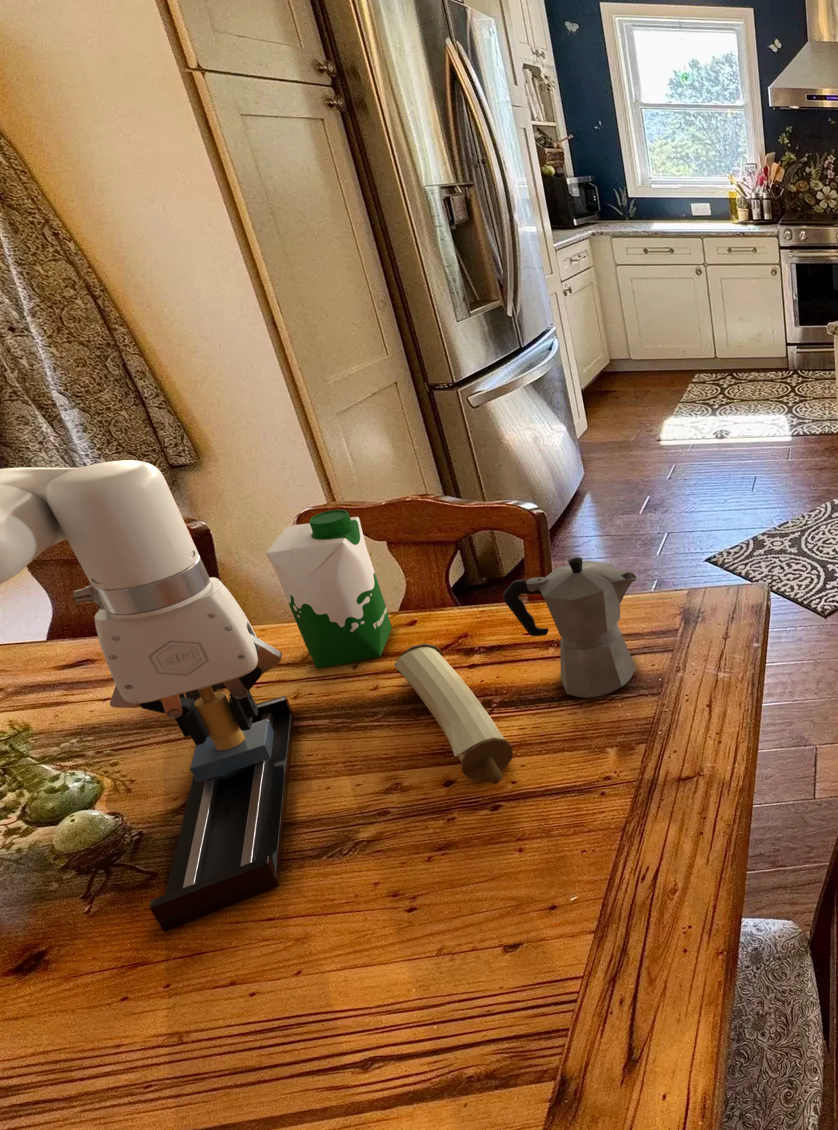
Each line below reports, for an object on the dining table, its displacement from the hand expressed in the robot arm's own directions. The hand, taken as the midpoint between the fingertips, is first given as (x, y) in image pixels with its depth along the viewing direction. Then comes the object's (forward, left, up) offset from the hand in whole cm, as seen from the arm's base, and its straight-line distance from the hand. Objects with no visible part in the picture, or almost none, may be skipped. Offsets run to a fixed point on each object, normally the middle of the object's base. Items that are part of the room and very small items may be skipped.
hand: (225, 728), depth 82 cm
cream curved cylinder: (+20, -4, -6) cm, 21 cm away
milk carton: (+10, +20, -6) cm, 23 cm away
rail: (0, -6, -6) cm, 9 cm away
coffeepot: (+35, -4, -6) cm, 36 cm away
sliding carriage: (0, 0, -4) cm, 4 cm away
